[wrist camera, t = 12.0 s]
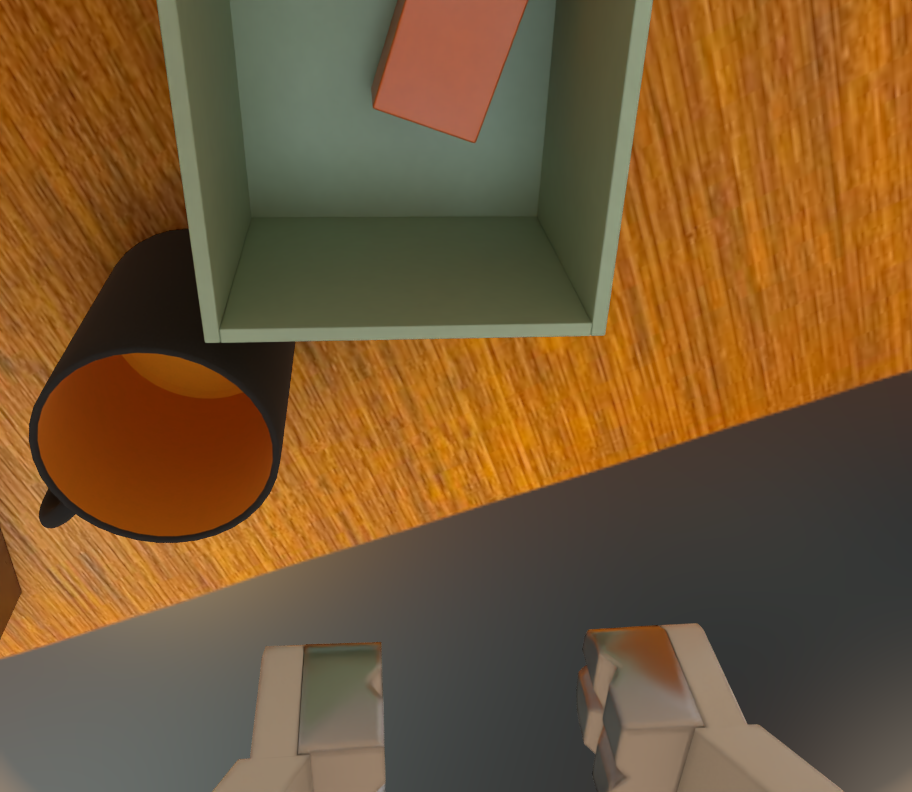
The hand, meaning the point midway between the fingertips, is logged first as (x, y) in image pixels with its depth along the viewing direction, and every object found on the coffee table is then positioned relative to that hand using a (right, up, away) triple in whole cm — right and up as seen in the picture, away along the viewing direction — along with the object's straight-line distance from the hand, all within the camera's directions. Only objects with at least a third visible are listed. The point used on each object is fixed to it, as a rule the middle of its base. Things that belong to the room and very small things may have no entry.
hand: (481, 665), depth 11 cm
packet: (0, +17, +18) cm, 24 cm away
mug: (-13, +6, +27) cm, 31 cm away
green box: (-3, +17, +21) cm, 27 cm away
